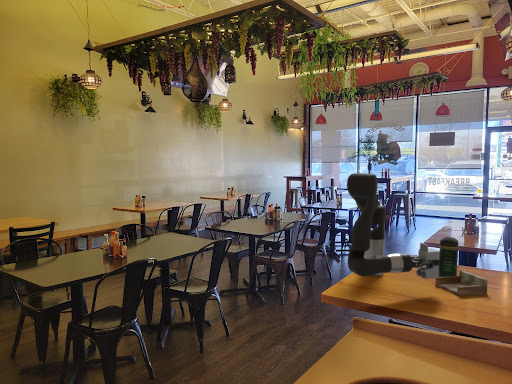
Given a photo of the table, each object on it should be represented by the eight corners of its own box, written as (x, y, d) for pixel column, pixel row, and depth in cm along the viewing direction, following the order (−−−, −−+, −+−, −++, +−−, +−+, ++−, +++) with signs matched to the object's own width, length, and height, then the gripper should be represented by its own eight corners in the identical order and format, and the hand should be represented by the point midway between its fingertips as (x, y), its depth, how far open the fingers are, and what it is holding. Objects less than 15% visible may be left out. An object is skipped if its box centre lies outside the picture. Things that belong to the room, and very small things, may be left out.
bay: (435, 285, 172) (435, 271, 172) (461, 283, 175) (461, 270, 175) (459, 296, 158) (460, 281, 158) (486, 293, 161) (487, 279, 161)
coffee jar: (456, 280, 180) (458, 240, 179) (437, 277, 184) (439, 238, 182) (457, 275, 188) (459, 236, 187) (439, 272, 192) (440, 235, 191)
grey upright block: (416, 275, 162) (417, 242, 161) (430, 274, 164) (432, 241, 163) (424, 279, 157) (426, 245, 156) (439, 278, 159) (441, 244, 158)
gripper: (408, 258, 149) (446, 256, 153) (387, 249, 163) (423, 247, 167) (407, 277, 150) (446, 274, 154) (387, 267, 164) (422, 264, 168)
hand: (434, 260), depth 161 cm, fingers closed on grey upright block, 5 cm apart
